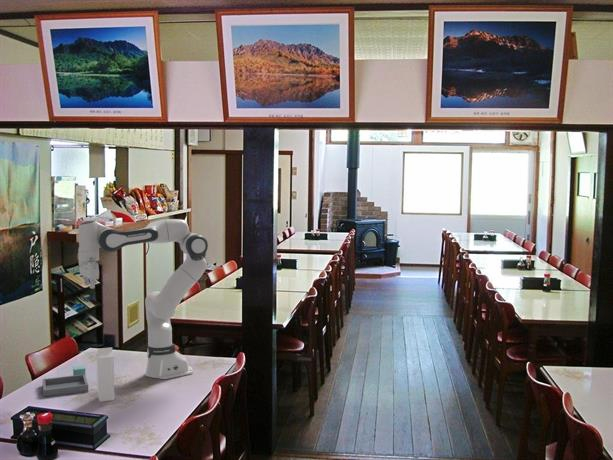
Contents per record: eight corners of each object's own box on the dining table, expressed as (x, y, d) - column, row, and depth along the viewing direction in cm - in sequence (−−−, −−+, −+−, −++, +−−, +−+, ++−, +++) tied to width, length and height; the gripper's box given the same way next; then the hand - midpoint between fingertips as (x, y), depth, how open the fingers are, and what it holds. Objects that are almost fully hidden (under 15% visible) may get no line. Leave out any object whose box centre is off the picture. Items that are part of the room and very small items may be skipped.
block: (84, 375, 291) (84, 365, 291) (85, 378, 287) (85, 368, 286) (73, 377, 289) (73, 366, 289) (74, 380, 285) (73, 369, 284)
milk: (97, 397, 263) (96, 347, 261) (112, 395, 266) (111, 345, 264) (99, 402, 258) (98, 350, 256) (114, 399, 260) (113, 348, 258)
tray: (84, 380, 284) (84, 374, 284) (88, 391, 270) (88, 384, 270) (42, 385, 277) (42, 379, 277) (43, 397, 262) (43, 390, 262)
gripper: (102, 258, 271) (102, 289, 272) (90, 253, 288) (90, 282, 289) (87, 259, 268) (88, 291, 269) (76, 254, 285) (76, 284, 286)
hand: (89, 286), depth 279 cm, fingers open, 8 cm apart
